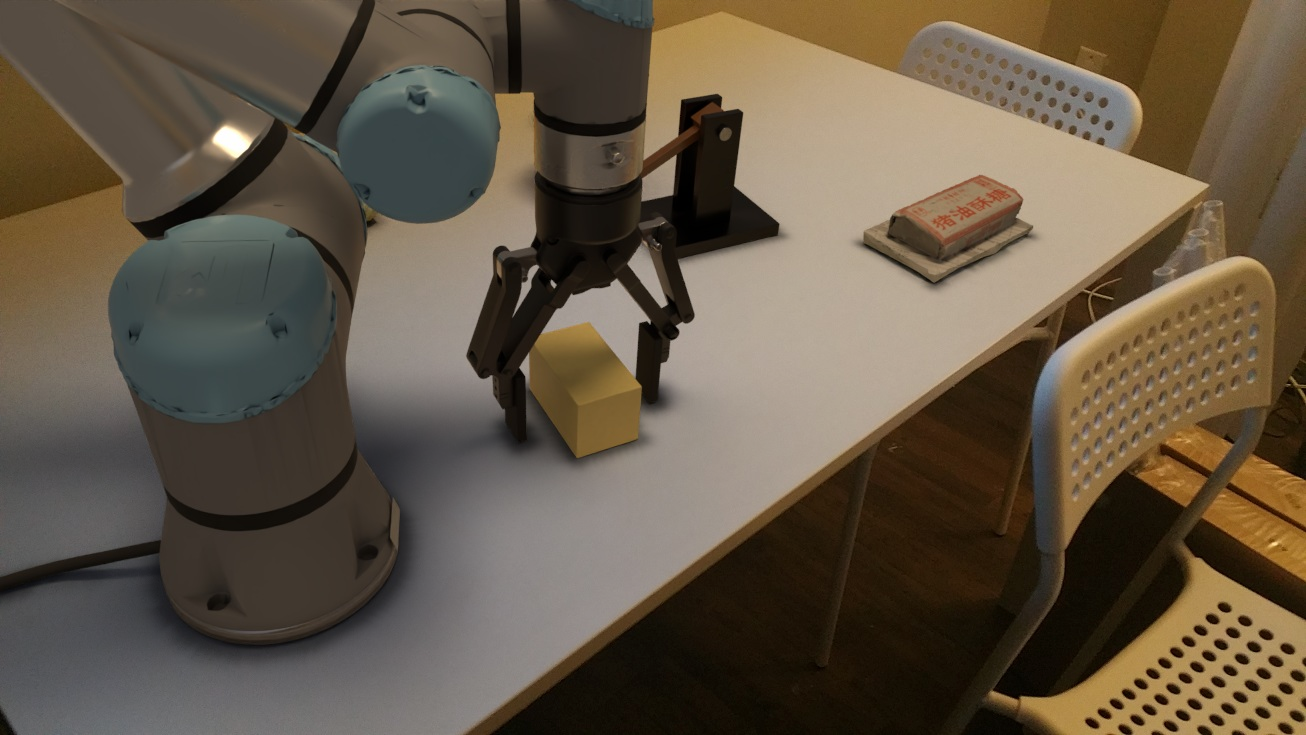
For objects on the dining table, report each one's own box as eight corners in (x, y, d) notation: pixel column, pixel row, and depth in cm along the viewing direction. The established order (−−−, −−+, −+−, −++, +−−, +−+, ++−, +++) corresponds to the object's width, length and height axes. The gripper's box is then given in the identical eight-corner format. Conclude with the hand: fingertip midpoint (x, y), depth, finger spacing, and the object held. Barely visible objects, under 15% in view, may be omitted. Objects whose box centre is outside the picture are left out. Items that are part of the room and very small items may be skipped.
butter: (576, 458, 77) (577, 405, 74) (529, 388, 84) (528, 336, 80) (638, 439, 80) (642, 386, 76) (587, 372, 86) (589, 321, 83)
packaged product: (968, 161, 113) (1044, 197, 107) (958, 199, 116) (1031, 235, 110) (868, 204, 103) (945, 245, 98) (859, 243, 106) (933, 286, 101)
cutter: (665, 261, 101) (676, 136, 93) (621, 216, 108) (627, 96, 99) (778, 234, 107) (797, 115, 98) (729, 193, 114) (743, 78, 105)
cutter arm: (606, 222, 99) (594, 199, 97) (592, 207, 101) (580, 185, 99) (734, 133, 100) (725, 108, 98) (717, 120, 102) (708, 96, 100)
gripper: (442, 230, 61) (462, 483, 74) (760, 165, 70) (727, 400, 84) (405, 177, 66) (430, 423, 79) (706, 124, 75) (683, 351, 89)
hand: (583, 411), depth 82 cm, fingers open, 11 cm apart
